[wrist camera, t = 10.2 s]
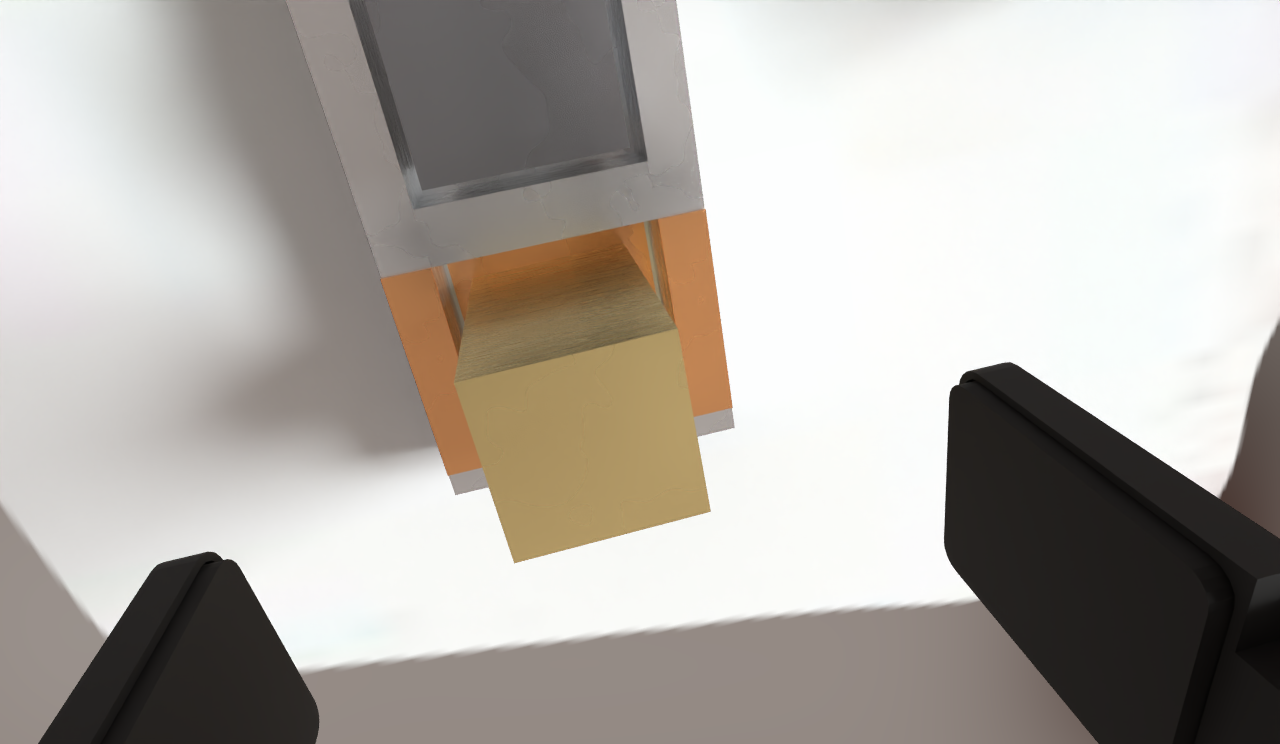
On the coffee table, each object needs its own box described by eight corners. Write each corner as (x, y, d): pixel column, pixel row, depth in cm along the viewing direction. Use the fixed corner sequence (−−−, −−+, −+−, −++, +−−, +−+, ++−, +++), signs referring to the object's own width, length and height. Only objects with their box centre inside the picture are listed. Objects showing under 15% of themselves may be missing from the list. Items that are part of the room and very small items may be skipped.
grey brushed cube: (388, -25, 16) (347, -54, 12) (568, -57, 17) (587, -97, 12) (442, 162, 18) (422, 190, 14) (603, 129, 18) (630, 147, 14)
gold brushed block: (472, 278, 19) (453, 383, 13) (623, 243, 19) (677, 328, 13) (513, 412, 21) (514, 563, 15) (650, 378, 21) (710, 511, 15)
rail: (155, -497, 13) (62, -645, 11) (567, -549, 14) (581, -701, 11) (462, 442, 22) (455, 497, 19) (707, 384, 23) (735, 429, 20)
